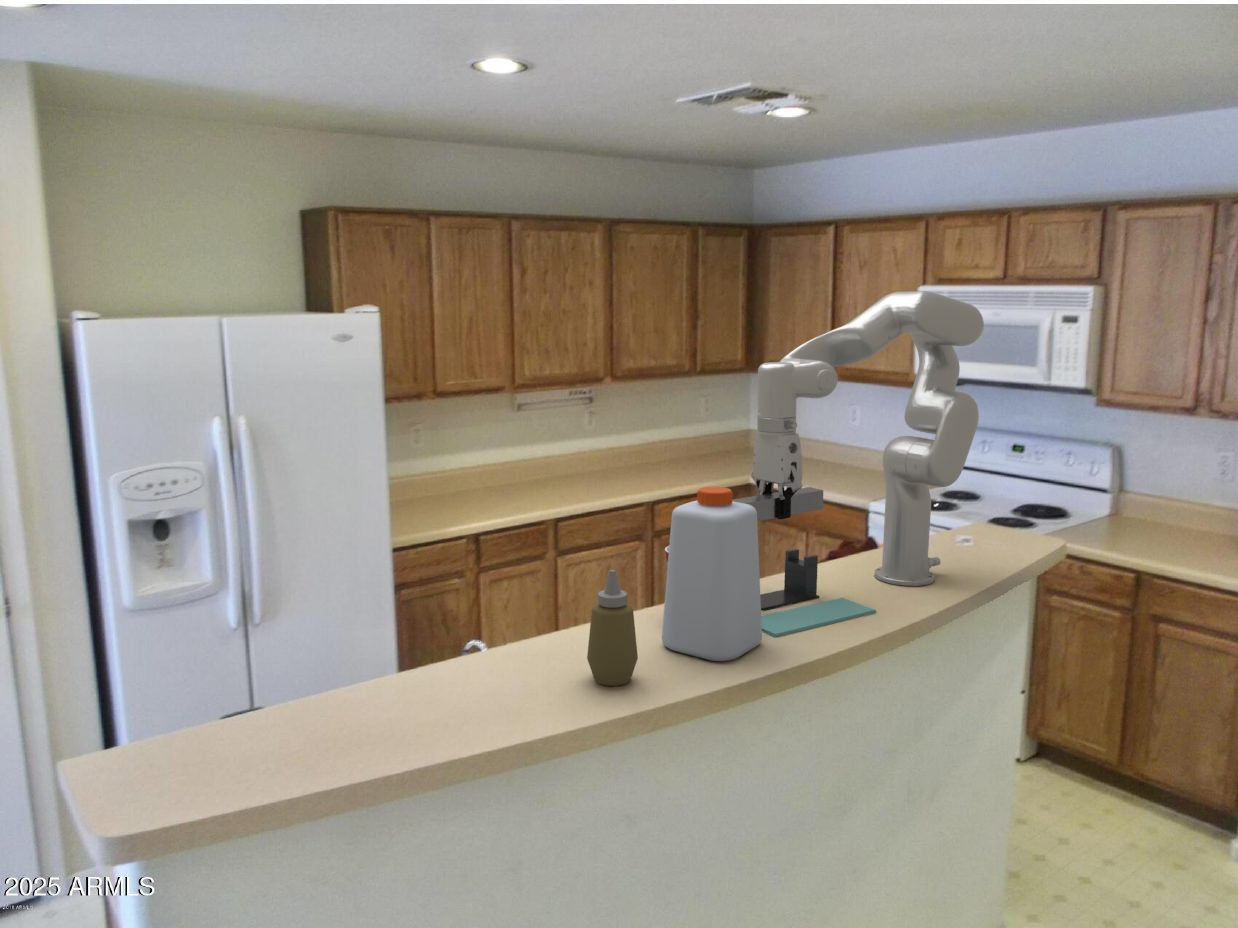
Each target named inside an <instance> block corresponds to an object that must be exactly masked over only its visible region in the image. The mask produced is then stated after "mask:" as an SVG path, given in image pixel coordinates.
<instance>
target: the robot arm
mask: <svg viewBox="0 0 1238 928" xmlns="http://www.w3.org/2000/svg"><path fill="white" fill-rule="evenodd" d="M983 331H984V318H983V315H982V313H981V312H980V310H979V309H978V308H977V307H976V306H974V305H973V304H970V303H967V302H964V301H961V300H957V299H954V298H951V297H949V296H945V295H942V294H939V293H935V292H931V291H925V290H919V291H918V290H913V291H911V290H910V291H895V292H891V293H888V294H886V295H884V296H883V297H881V298H880V299H879V300H877V301H875V302H874V303H873V304H872V305H871V306H869V307H868V308H867V309H865V310H864V311H862V312H861V313H860V314H858V315H857V316H856V317H854V318H853V319H851V320H850V321H849V322H847V323H846V324H844V325H842V326H839V327H836V328H834V329H832V330H830V331H828V332H826V333H823V334H820V335H818V336H816V337H814V338H811V339H810V340H808V341H806V342H804V343H803V344H801V345H799V346H797V347H796V348H794V349H793V350H792V351H790V352H789V353H788V354H786V355H785V356H784V357H782V358H781V359H780V360H779V361H773V362H772V361H770V362H764V363H761V364H760V365H759V367H758V369H757V415H756V416H757V417H756V418H757V420H756V421H757V430H756V433H755V437H754V438H755V439H754V446H753V456H752V459H753V460H752V469H753V470H752V473H751V474H750V476H751V479H752V481H754V483H755V484H756V486H757V489H758V493H759V494H758V495H764V494H770V493H774V486H775V484H776V485H777V490H778V492H779V499H777V518H776V519H777V520H784V519H790V518H791V516H792V515H791V498H793V497H794V494H795V493H796V492H797V491H798V490H799V489H801V488H804V486H803V483H802V480H803V454H802V445H801V440H800V439H801V438H800V436H799V435H800V434H799V433H797V427H798V423H797V399H798V398H806V399H807V398H808V399H816V400H817V399H822V398H825V397H828V396H830V395H831V394H832V393H833V392H834V391H835V389H836V387H837V385H838V382H839V381H838V373H837V371H836V369H835V368H836V367H841V366H847V365H852V364H857V363H860V362H864V361H866V360H869V359H871V358H873V357H874V356H876V355H877V354H878V353H880V351H882V350H883V349H884V348H885V347H887V346H888V345H890V344H891V343H893V342H894V341H896V339H899V337H900V336H902V335H904V334H905V335H906V334H909V335H910V337H911V339H912V341H913V343H914V346H915V348H916V351H917V353H918V359H919V360H918V362H919V363H918V369H917V372H916V375H915V379H914V381H913V385H912V388H911V392H910V394H909V396H908V399H907V404H906V406H905V411H904V422H905V423H906V425H907V426H908V428H910V429H912V430H914V431H917V432H919V433H926V434H932V435H934V439H929V438H927V437H921V436H913V435H901V436H897V437H894V438H893V439H891V440H889V441H888V443H887V445H886V446H885V448H884V450H883V454H882V465H883V466H882V467H883V472H884V481H885V503H884V519H883V520H884V523H883V525H884V526H883V544H882V560H881V561H882V563H881V564H882V565H881V566H879V567H877V568H876V569H875V570H874V577H875V579H878V580H879V581H881V582H883V583H887V584H891V585H897V586H905V587H907V586H908V587H920V586H926V585H931V584H933V582H935V575H934V573H933V572H931V571H930V569H931V568H932V567H937V566H940V564H941V558H940V557H938V556H935V557H929V546H930V531H931V529H930V528H931V527H930V526H931V512H932V496H931V491H930V489H929V486H932V487H937V488H946V487H951V485H953V484H955V482H957V480H958V479H959V477H960V476H961V474H962V472H963V471H964V470H963V469H964V467H965V464H966V462H967V458H968V456H969V452H970V449H971V447H972V443H973V442H974V441H973V440H974V437H975V434H976V432H977V428H978V423H979V415H980V414H979V407H978V404H977V402H976V400H975V399H974V398H973V397H972V396H971V395H970V394H968V393H966V392H962V391H957V390H956V387H957V383H958V379H959V376H960V371H961V369H960V361H959V358H958V355H957V353H956V350H955V349H954V346H955V347H956V346H957V347H965V346H969V345H972V344H974V343H975V342H976V341H977V340H979V339H980V337H981V336H982V334H983ZM785 488H786V489H785Z"/></svg>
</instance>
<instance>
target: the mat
mask: <svg viewBox="0 0 1238 928" xmlns="http://www.w3.org/2000/svg"><path fill="white" fill-rule="evenodd" d="M876 613H877V609H875V608H872V607H870V606H867V605H865V604H862V603H858V602H856V601H853V600H850V599H847V598H844V597H838V598H833V599H830V600H825V601H821V602H817V603H812V604H808V605H804V606H798V607H793V608H790V609H785V610H780V611H776V612H771V613H767V614H761V622H762V633H765V634H766V635H769V636H771V637H774V638H777V637H781V636H785V635H790V634H794V633H797V632H802V631H805V630H809V629H815V628H819V627H822V626H827V625H830V624H835V623H839V622H843V621H848V620H851V619H855V618H860V617H864V616H868V615H872V614H876Z"/></svg>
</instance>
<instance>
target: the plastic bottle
mask: <svg viewBox="0 0 1238 928" xmlns="http://www.w3.org/2000/svg"><path fill="white" fill-rule="evenodd" d="M733 495H734V494H733V491H732V489H731V488H728V487H724V486H704V487H700V488H699V489H698V490H697V495H696V496H697V497H696V499H697V500H694V501H690V502H687V503H683V504H681V505H678V506H675V508H674V509H673V510H672V513H671V520H670V521H671V522H670V531H669V533H670V534H669V535H670V536H669V545H668V546H669V556H668V568H667V567H666V583H665V596H664V605H663V616H662V617H663V619H662V632H661V641H662V644H663V645H664V646H665V647H666V648H667V649H670V650H671V651H673V652H678V653H681V654H686V655H689V656H691V657H692V656H693V657H697V658H700V659H705V660H708V661H713V662H729V661H733V660H736V659H738V658H740V656H742V655H743V656H744V654H746V653H748V652H749V651H751V650H753V649H754V648H756V647H757V646H759V645H760V644H761V642H762V639H763V632H762V622H761V616H762V611H761V598H760V594H761V582H760V581H761V578H760V577H761V576H760V575H761V574H760V558H759V556H760V555H759V533H758V527H759V526H758V521H757V511H756V509H755V508H754V507H753V506H751V505H748V504H744V503H738V502H732V500H733Z"/></svg>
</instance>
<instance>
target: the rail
mask: <svg viewBox="0 0 1238 928" xmlns="http://www.w3.org/2000/svg"><path fill="white" fill-rule="evenodd" d="M777 499H779V492H776V491H775V492H772V493H770V494H764V495H760V494H758V495H752V496H746V497H741V498H734V499H732V502H738V503H744V504H748V505H751V506H753V507H754V508H755V509H756V511H757V522H760V521H767V520H771V519H777ZM823 509H824V490H823V489H820V488H816V487H811V486H808V487H802V488H801V489H799V490H798V491H797V492H796V493H795V494H794V497H793V498H791V516H793V515H800V514H804V513H810V512H816V511H822V510H823Z"/></svg>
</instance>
